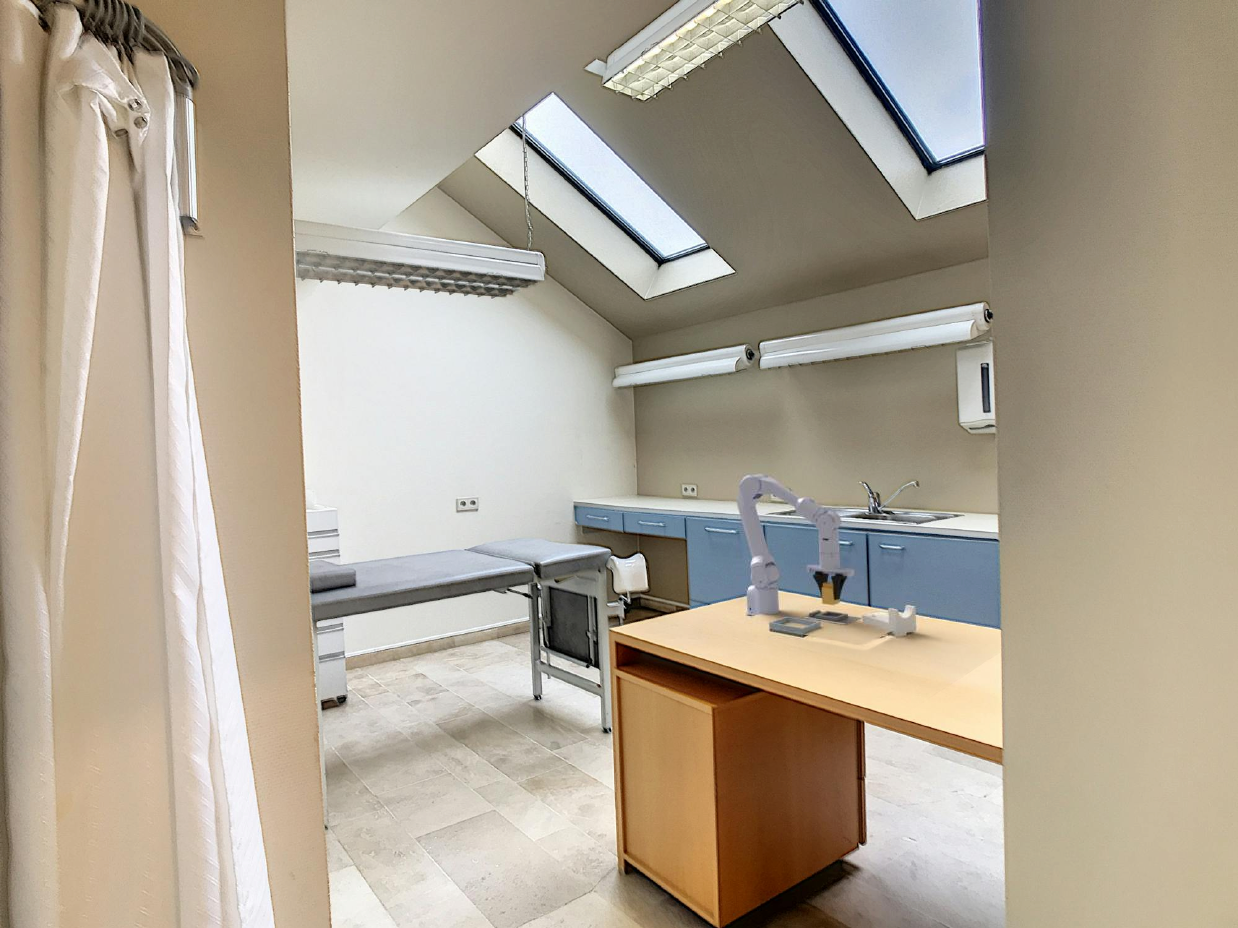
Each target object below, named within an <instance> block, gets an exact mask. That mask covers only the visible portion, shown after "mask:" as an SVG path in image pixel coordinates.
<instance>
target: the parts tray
mask: <svg viewBox="0 0 1238 928" xmlns="http://www.w3.org/2000/svg"><path fill="white" fill-rule="evenodd" d="M787 622H789V623H794V624H799V625H805V626H804V627H798V626H793V625H786V624H785V623H787ZM768 624H769V628H768V629H769V632H773V633H776V634H782V635H788V636H793V637H796V638H797V637H798V638H806V637H808V636H810V635H809V634H805V633H809V632H810V631H814V630H816V629H819V628H821V621H817V620H811V619H805V618H797V617H792V616H785V617H781V618H778V619H776V620H772V621H770V622H769V623H768Z"/></svg>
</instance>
